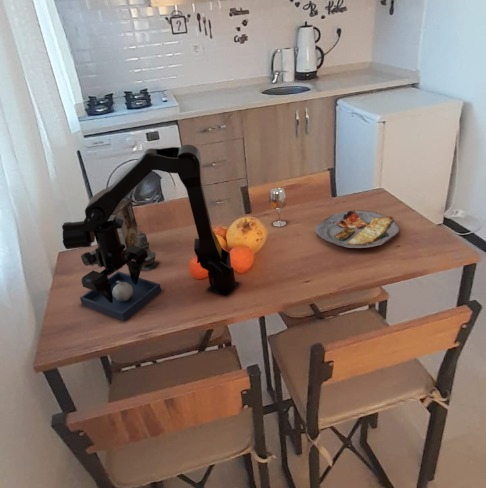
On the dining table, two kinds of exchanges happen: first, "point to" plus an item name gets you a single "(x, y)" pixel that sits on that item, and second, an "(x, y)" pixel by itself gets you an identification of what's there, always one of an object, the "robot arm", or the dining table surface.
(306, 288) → the dining table surface
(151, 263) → the grey tall tiered piece
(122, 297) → the garlic
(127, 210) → the coffee box
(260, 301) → the dining table surface
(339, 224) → the food plate
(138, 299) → the tray
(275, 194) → the wineglass
